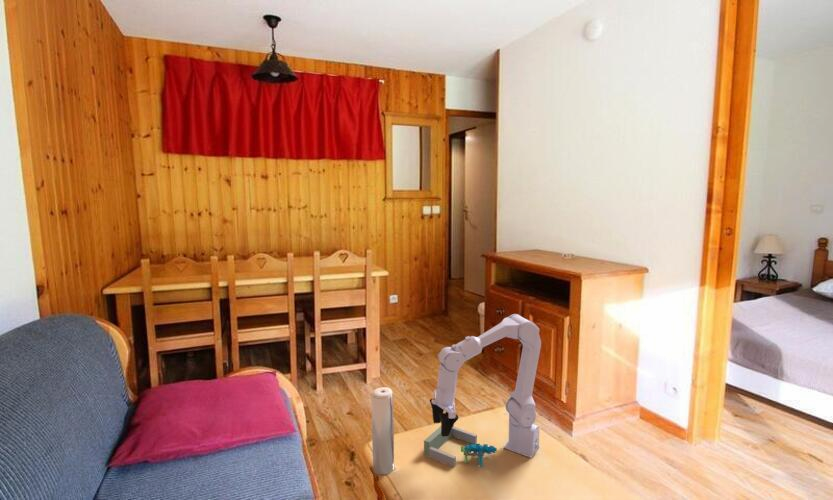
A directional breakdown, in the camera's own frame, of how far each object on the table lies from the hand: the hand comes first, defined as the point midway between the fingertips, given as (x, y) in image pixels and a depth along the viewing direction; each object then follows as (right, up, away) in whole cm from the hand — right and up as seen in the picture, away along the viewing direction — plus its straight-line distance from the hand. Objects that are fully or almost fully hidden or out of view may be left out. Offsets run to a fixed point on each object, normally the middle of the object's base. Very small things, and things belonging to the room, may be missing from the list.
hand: (440, 429), depth 130 cm
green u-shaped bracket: (+5, -10, +7) cm, 13 cm away
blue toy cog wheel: (+12, -11, +2) cm, 16 cm away
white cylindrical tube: (-18, -12, -1) cm, 21 cm away
